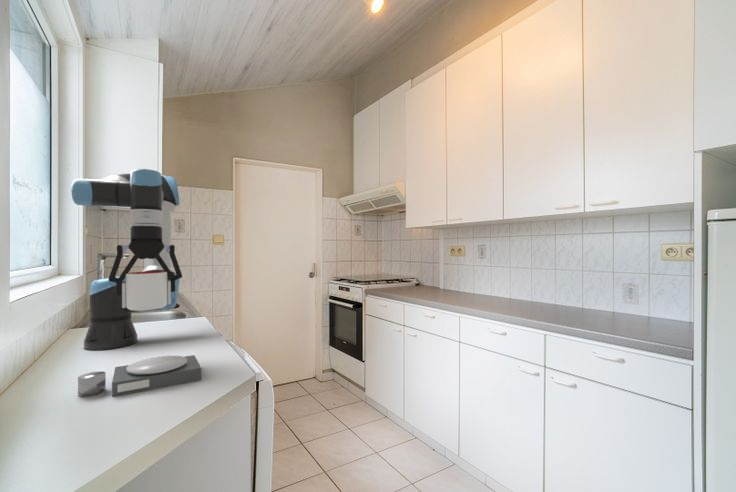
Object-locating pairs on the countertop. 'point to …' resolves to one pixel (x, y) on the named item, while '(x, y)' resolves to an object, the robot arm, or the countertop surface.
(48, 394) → the countertop surface
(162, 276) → the cup
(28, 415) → the countertop surface
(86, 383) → the cylinder
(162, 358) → the scale
